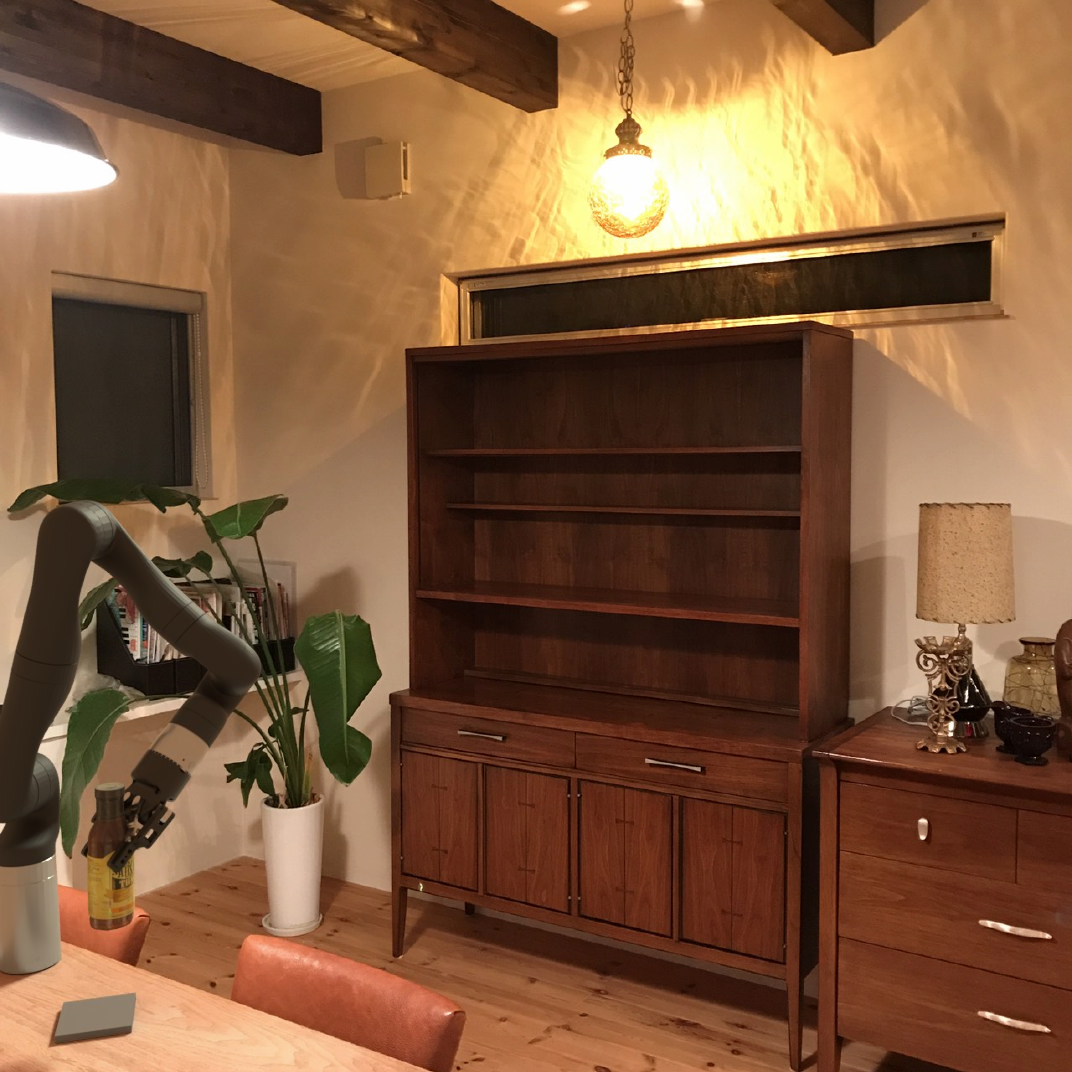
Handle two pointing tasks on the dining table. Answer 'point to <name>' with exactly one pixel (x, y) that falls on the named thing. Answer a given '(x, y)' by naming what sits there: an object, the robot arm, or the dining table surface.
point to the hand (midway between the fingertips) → (99, 862)
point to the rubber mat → (96, 1017)
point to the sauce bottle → (106, 887)
